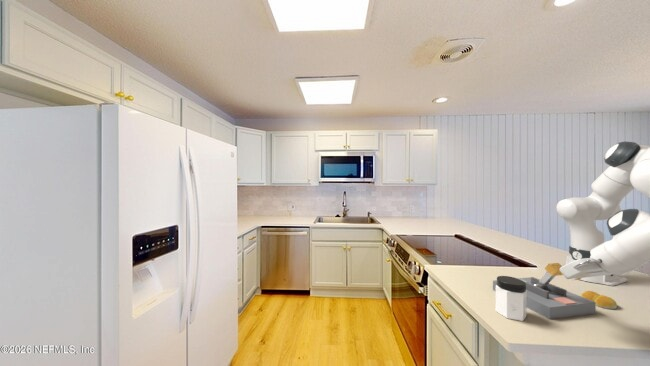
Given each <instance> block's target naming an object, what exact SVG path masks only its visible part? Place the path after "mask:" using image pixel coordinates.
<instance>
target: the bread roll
mask: <svg viewBox="0 0 650 366" xmlns="http://www.w3.org/2000/svg"><path fill="white" fill-rule="evenodd" d="M579 296H581V297H584V298H586V299H589V300H591V301H594V302H596V307H598V308H601V309H605V310H606V309H607V310H615V309H617V307H618V306H617V305H618V304H617V301H616V300H615V299H613V298H612V297H609V296H606V295H604V294H603V295H601V294H599V293H598V292H595V291H593V290H586V291H583V292H582V293H580V295H579Z"/></svg>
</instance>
